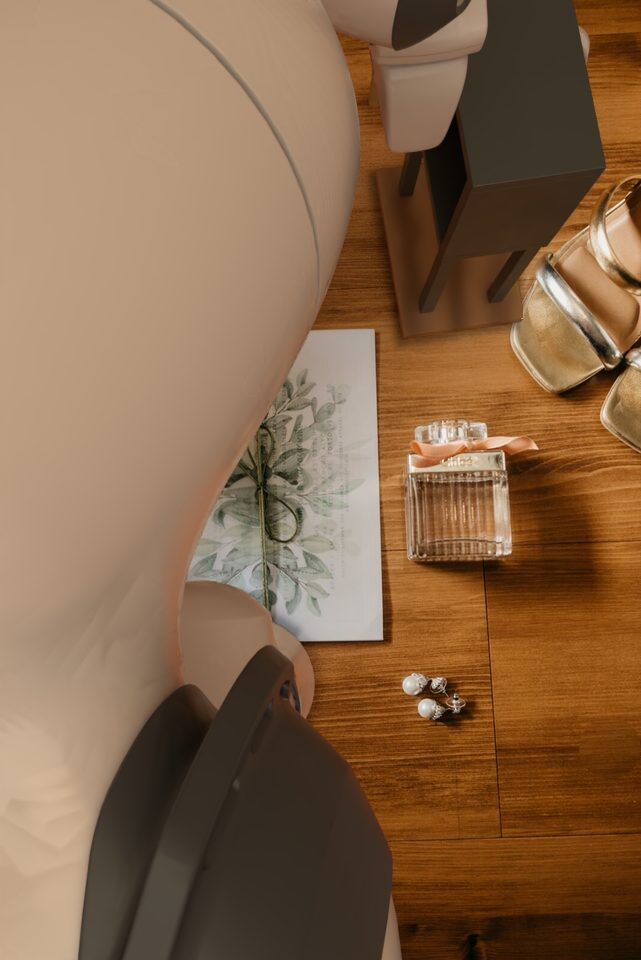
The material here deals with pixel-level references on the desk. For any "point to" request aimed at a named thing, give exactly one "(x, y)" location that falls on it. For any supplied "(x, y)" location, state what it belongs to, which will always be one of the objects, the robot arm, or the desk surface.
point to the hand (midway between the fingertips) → (382, 65)
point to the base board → (415, 256)
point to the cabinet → (512, 145)
